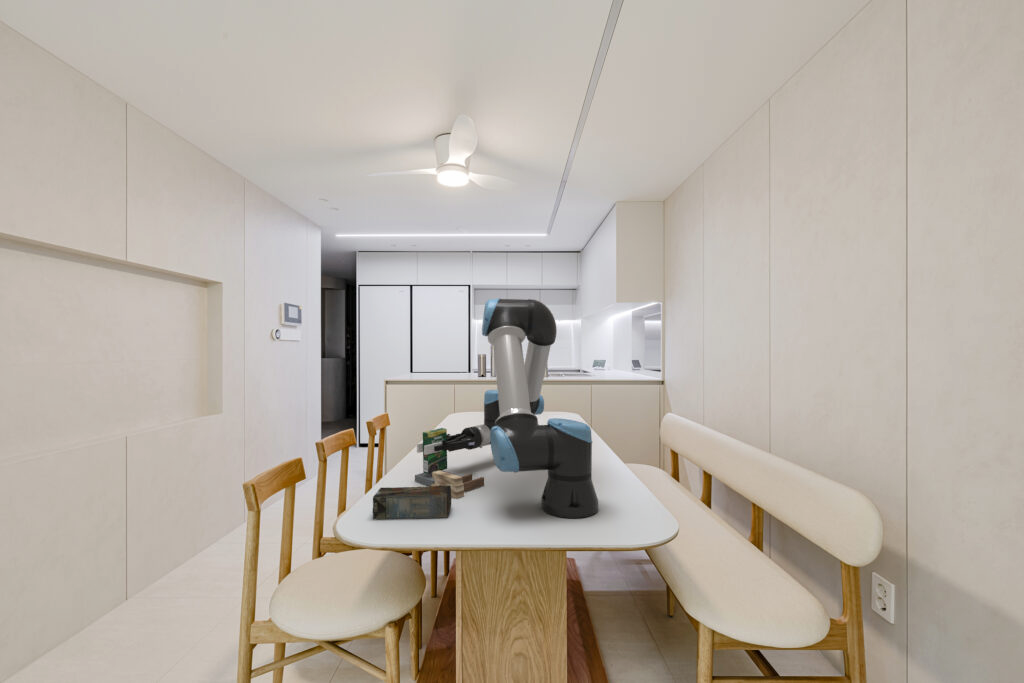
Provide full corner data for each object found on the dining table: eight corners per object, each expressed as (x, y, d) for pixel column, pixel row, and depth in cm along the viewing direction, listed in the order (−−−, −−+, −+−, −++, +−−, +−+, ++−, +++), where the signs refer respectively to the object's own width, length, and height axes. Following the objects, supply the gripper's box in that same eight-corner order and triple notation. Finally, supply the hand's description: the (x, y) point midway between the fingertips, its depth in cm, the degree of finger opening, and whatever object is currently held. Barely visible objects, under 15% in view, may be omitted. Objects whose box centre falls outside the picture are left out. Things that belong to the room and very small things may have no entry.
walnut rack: (484, 485, 134) (484, 477, 134) (465, 492, 128) (465, 483, 128) (470, 481, 138) (470, 473, 138) (451, 487, 132) (451, 479, 132)
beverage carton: (379, 508, 115) (379, 484, 115) (452, 507, 116) (452, 483, 116) (371, 520, 107) (372, 494, 107) (449, 519, 108) (449, 493, 109)
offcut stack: (464, 496, 124) (464, 477, 124) (456, 498, 122) (456, 479, 122) (439, 487, 132) (439, 470, 132) (431, 490, 129) (431, 472, 129)
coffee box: (427, 474, 134) (427, 432, 134) (422, 472, 136) (422, 431, 136) (447, 469, 140) (447, 428, 140) (442, 467, 142) (442, 427, 142)
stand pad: (455, 480, 139) (455, 474, 139) (432, 487, 132) (432, 480, 132) (436, 475, 145) (436, 469, 145) (414, 481, 138) (414, 475, 138)
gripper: (491, 451, 147) (437, 466, 129) (459, 444, 157) (405, 457, 139) (491, 429, 147) (437, 441, 129) (459, 423, 157) (405, 433, 139)
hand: (421, 449), depth 134 cm, fingers closed on coffee box, 3 cm apart
